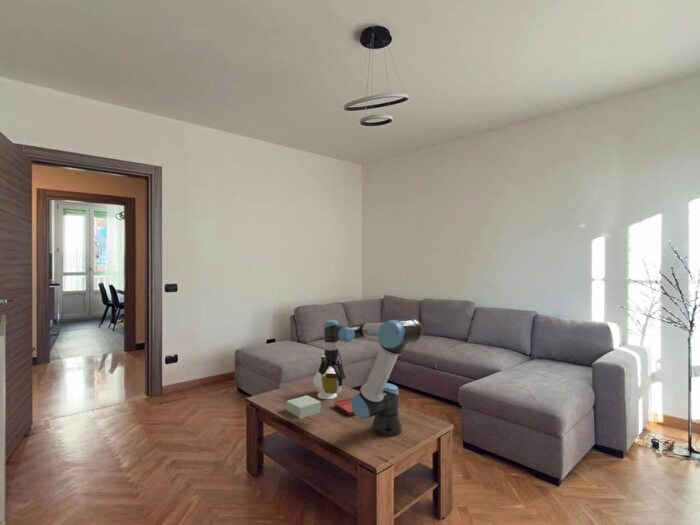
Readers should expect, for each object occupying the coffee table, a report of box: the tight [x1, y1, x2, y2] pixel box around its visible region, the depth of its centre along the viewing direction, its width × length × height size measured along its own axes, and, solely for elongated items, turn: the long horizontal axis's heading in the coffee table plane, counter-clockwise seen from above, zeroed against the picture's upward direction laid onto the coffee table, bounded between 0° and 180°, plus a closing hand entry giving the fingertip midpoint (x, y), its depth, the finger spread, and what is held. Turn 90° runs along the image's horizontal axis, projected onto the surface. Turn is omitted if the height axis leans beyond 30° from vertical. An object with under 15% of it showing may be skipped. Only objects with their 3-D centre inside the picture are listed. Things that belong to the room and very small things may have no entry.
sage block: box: [286, 394, 322, 419], centre depth 219 cm, size 14×14×6 cm
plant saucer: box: [333, 397, 356, 416], centre depth 222 cm, size 18×18×3 cm
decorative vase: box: [312, 354, 338, 400], centre depth 243 cm, size 18×18×25 cm
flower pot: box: [322, 373, 338, 394], centre depth 208 cm, size 9×9×9 cm
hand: (331, 388), depth 208 cm, fingers closed on flower pot, 12 cm apart
